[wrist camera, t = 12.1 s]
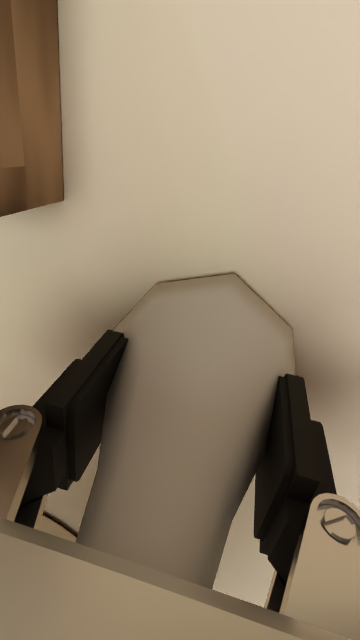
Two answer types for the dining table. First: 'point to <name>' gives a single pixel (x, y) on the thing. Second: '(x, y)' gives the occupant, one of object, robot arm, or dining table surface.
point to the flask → (185, 424)
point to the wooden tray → (29, 106)
